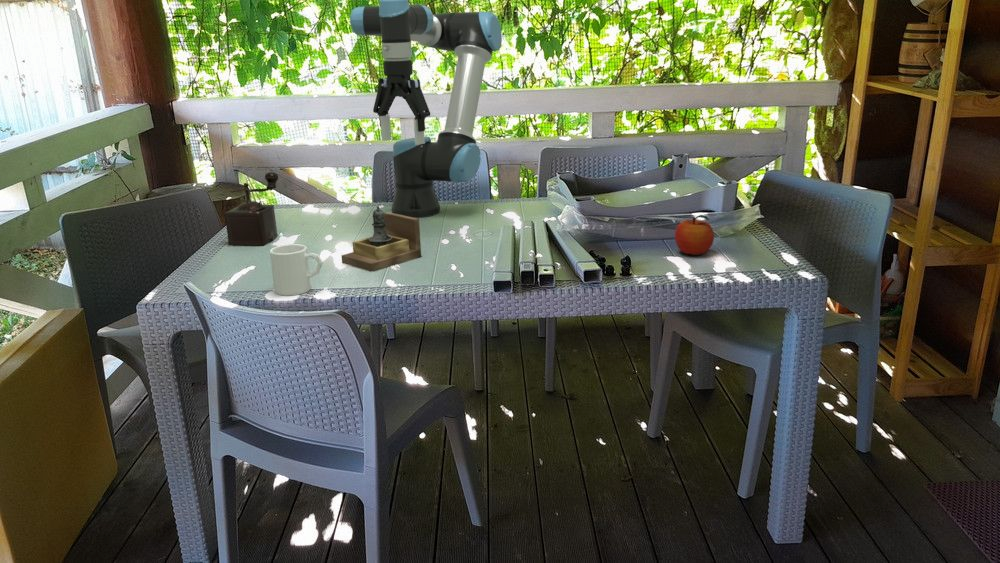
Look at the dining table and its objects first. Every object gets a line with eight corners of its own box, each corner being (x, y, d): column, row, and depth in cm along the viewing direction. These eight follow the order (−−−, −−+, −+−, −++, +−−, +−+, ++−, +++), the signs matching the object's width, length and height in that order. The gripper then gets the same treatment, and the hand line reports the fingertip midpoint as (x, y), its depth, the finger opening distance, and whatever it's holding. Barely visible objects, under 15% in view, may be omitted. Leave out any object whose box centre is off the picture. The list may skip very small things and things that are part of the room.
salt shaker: (366, 251, 207) (363, 205, 203) (388, 247, 209) (385, 202, 205) (373, 256, 202) (369, 209, 198) (396, 253, 204) (392, 206, 200)
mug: (318, 297, 180) (313, 254, 177) (268, 295, 182) (263, 253, 179) (332, 285, 187) (328, 244, 184) (284, 283, 190) (279, 243, 187)
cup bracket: (391, 248, 216) (388, 212, 212) (421, 256, 208) (418, 218, 205) (342, 262, 205) (338, 224, 201) (372, 271, 197) (368, 231, 194)
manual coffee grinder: (265, 246, 222) (257, 181, 216) (227, 246, 223) (218, 181, 218) (287, 231, 236) (280, 170, 231) (251, 231, 238) (244, 170, 232)
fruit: (683, 246, 210) (684, 208, 207) (718, 251, 205) (721, 212, 201) (667, 255, 203) (669, 216, 200) (704, 260, 197) (706, 220, 194)
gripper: (356, 59, 216) (362, 140, 222) (418, 61, 199) (423, 147, 206) (378, 58, 221) (384, 136, 227) (441, 59, 204) (445, 143, 211)
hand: (403, 142), depth 217 cm, fingers open, 13 cm apart
